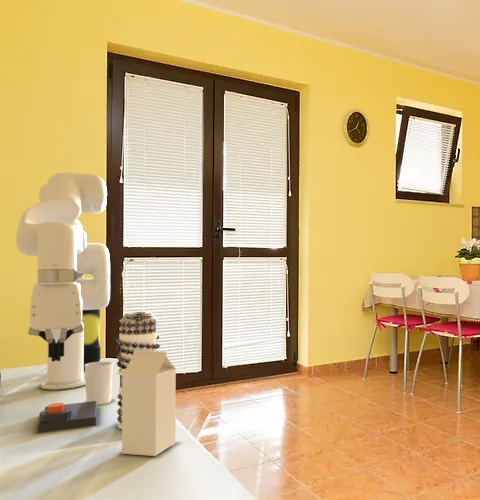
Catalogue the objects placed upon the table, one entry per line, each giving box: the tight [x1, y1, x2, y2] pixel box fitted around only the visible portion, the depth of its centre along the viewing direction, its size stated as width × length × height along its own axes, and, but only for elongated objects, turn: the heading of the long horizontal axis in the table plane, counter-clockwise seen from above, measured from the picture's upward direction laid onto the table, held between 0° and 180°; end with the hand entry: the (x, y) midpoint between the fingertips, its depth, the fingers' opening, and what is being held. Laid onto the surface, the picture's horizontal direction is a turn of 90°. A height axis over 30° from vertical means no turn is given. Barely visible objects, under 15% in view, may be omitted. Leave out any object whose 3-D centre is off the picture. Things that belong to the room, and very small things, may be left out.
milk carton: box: [121, 350, 177, 457], centre depth 100 cm, size 7×7×19 cm
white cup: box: [84, 360, 114, 406], centre depth 134 cm, size 7×7×10 cm
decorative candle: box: [115, 311, 161, 430], centre depth 116 cm, size 9×9×25 cm
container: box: [82, 309, 102, 372], centre depth 178 cm, size 11×11×30 cm
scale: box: [38, 401, 97, 433], centre depth 119 cm, size 15×11×4 cm
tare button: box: [47, 402, 65, 414], centre depth 114 cm, size 3×3×2 cm
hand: (56, 360), depth 114 cm, fingers closed
